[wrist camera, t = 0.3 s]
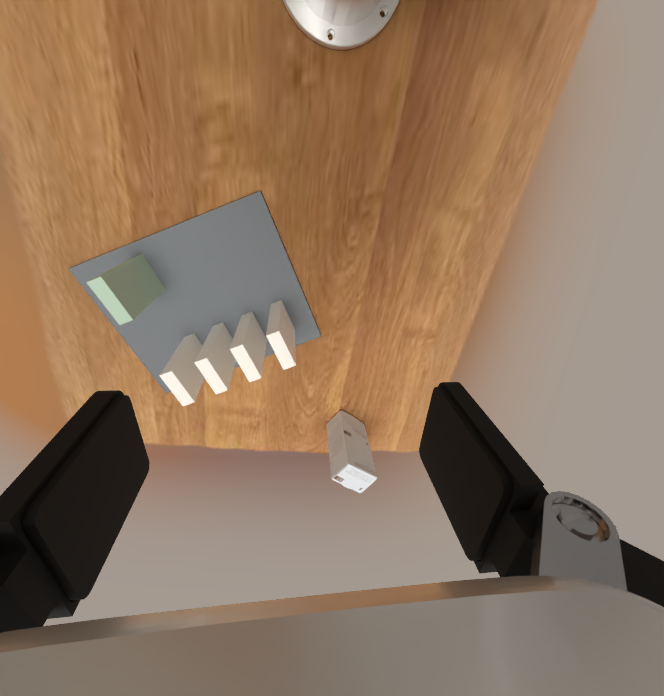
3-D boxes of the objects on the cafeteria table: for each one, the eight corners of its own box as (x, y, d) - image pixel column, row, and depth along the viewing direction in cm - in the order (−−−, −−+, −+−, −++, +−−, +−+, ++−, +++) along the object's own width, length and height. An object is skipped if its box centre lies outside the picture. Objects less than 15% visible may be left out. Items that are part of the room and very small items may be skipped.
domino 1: (194, 333, 46) (171, 370, 37) (212, 360, 48) (194, 402, 39) (184, 336, 46) (159, 375, 37) (202, 364, 48) (182, 406, 40)
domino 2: (222, 322, 45) (206, 357, 37) (239, 350, 48) (227, 390, 39) (212, 326, 45) (194, 362, 37) (229, 354, 48) (215, 394, 39)
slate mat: (260, 190, 38) (260, 190, 38) (320, 335, 49) (321, 336, 48) (70, 268, 40) (68, 268, 40) (167, 391, 50) (166, 393, 50)
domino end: (142, 253, 40) (100, 276, 31) (165, 289, 42) (133, 320, 34) (130, 258, 40) (86, 282, 31) (154, 293, 42) (119, 325, 34)
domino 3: (251, 311, 45) (242, 344, 36) (267, 340, 48) (261, 377, 39) (241, 315, 45) (229, 349, 36) (257, 343, 48) (249, 382, 39)
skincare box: (365, 422, 58) (381, 478, 48) (349, 438, 60) (361, 495, 49) (339, 408, 56) (350, 462, 45) (323, 424, 57) (330, 481, 47)
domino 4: (281, 300, 45) (278, 330, 36) (295, 329, 47) (295, 365, 38) (270, 304, 45) (265, 335, 36) (285, 333, 47) (283, 369, 39)
